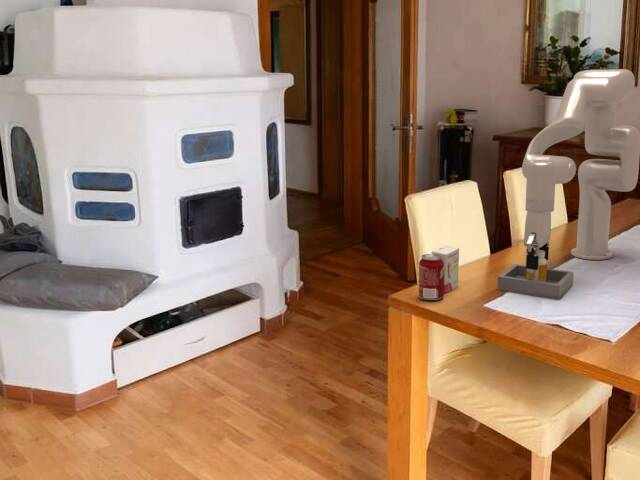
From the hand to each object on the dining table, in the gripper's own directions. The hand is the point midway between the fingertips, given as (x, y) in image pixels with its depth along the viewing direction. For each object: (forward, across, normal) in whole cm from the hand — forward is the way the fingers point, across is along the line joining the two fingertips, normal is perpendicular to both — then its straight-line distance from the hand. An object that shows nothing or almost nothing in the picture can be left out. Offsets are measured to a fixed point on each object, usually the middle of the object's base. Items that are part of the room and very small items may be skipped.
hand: (537, 264), depth 186 cm
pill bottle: (+6, 0, 0) cm, 6 cm away
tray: (+7, +1, 0) cm, 7 cm away
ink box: (+7, +14, -22) cm, 27 cm away
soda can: (+7, +23, -22) cm, 32 cm away
